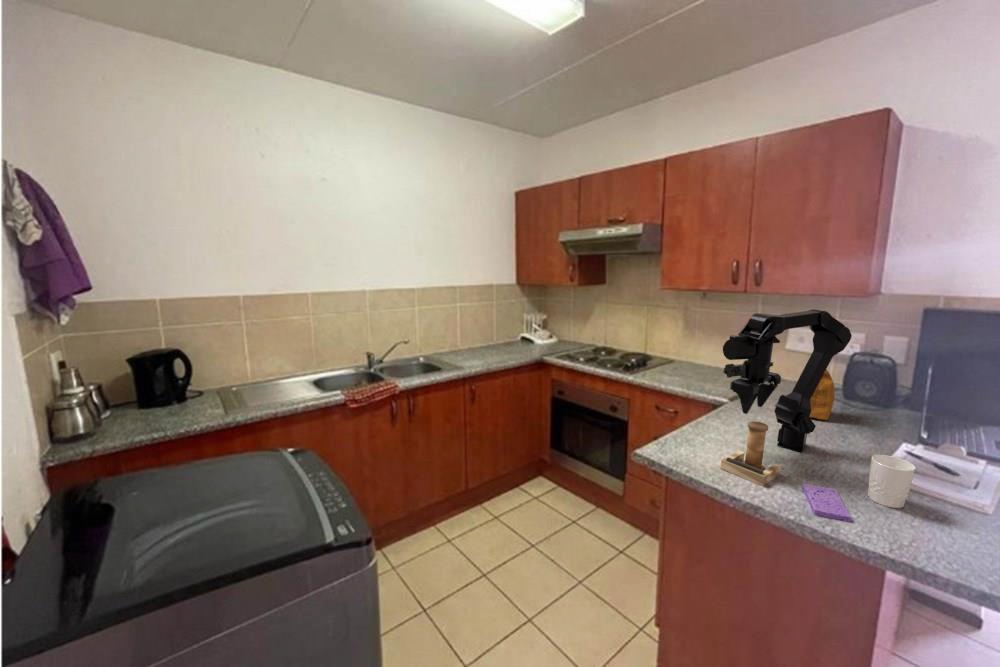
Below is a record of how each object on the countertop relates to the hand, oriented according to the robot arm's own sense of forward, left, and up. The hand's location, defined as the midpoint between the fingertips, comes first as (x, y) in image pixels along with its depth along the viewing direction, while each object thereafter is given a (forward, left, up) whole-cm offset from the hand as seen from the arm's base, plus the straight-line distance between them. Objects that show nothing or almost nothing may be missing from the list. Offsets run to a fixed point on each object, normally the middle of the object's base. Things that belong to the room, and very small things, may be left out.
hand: (752, 410), depth 130 cm
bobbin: (-5, +11, -13) cm, 18 cm away
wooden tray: (-5, +12, -13) cm, 19 cm away
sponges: (-22, +16, -14) cm, 31 cm away
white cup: (-32, +3, -13) cm, 35 cm away
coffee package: (-6, -50, -13) cm, 52 cm away
